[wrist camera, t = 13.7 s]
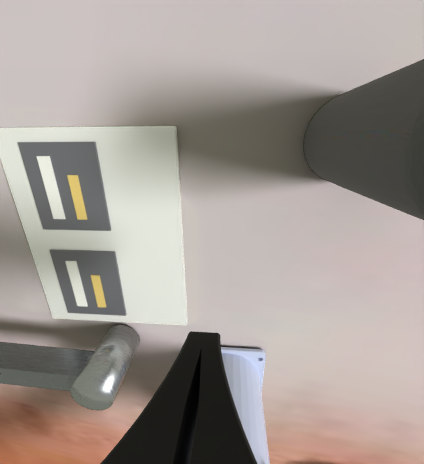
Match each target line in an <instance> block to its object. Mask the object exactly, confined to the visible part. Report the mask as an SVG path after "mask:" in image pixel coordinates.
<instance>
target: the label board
mask: <svg viewBox="0 0 424 464" xmlns="http://www.w3.org/2000/svg"><path fill="white" fill-rule="evenodd" d="M0 159H1V162H2V165H3V168H4V171H5V174H6V177H7V180H8V183H9V186H10V189H11V192H12V195H13V198H14V201H15V204H16V207H17V210H18V213H19V217H20V220H21V223H22V226H23V229H24V232H25V235H26V238H27V241H28V244H29V247H30V250H31V253H32V256H33V259H34V262H35V265H36V268H37V271H38V274H39V277H40V280H41V283H42V286H43V289H44V292H45V295H46V298H47V301H48V304H49V307H50V310H51V313H52V316H53V318H55V319H74V320H93V321H112V322H131V323H150V324H170V325H187V322H188V317H187V299H186V282H185V264H184V247H183V229H182V212H181V194H180V177H179V159H178V141H177V126H119V127H32V128H0Z"/></svg>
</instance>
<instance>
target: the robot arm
mask: <svg viewBox="0 0 424 464" xmlns="http://www.w3.org/2000/svg"><path fill="white" fill-rule="evenodd" d="M265 356H266V355H265V351H264V350H262V349H247V348H230V347H221V345H220V335H219V334H218V333H207V332H190V333H189V334H188V336H187V339H186V341H185V343H184V345H183V347H182V349H181V351H180V353H179V355H178V357H177V359H176V360H175V362H174V364H173V366H172V367H171V369H170V371H169V372H168V374H167V376H166V377H165V379H164V381H163V382H162V384H161V385H160V387H159V388H158V390H157V391H156V393H155V394H154V396H153V398H152V399H151V400H150V402H149V403H148V405H147V406H146V408H145V409H144V410H143V412H142V413H141V414H140V416H139V417H138V418H137V420H136V421H135V422H134V424H133V425H132V426H131V428H130V429H129V430H128V431H127V433H126V434H125V435H124V436H123V438H122V439H121V440H120V441H119V443H118V444H117V445H116V446H115V447H114V449H113V450H112V451H111V452H110V453H109V455H108V456H107V457H106V458H105V459H104V460H103V461H102V462H101V464H270V461H269V453H268V445H267V437H266V428H265V420H264V412H263V404H262V395H261V393H262V383H263V374H264V365H265ZM260 357H261V358H260Z"/></svg>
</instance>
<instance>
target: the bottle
mask: <svg viewBox="0 0 424 464" xmlns="http://www.w3.org/2000/svg"><path fill="white" fill-rule="evenodd" d="M303 149H304V155H305V159H306V161H307V163H308V166H309V167H310V168H311V170H312V171H313V172H314V173H315V174H317V175H318V176H319V177H321V178H323V179H325V180H327V181H329V182H332V183H334V184H336V185H339V186H341V187H343V188H346V189H348V190H351V191H353V192H356V193H358V194H361V195H363V196H365V197H368V198H370V199H373V200H375V201H378V202H380V203H383V204H385V205H387V206H390V207H392V208H395V209H397V210H400V211H402V212H405V213H407V214H410V215H412V216H415V217H417V218H420V219H422V220H424V59H423V60H421V61H418V62H416V63H414V64H411V65H409V66H407V67H404V68H402V69H400V70H397V71H395V72H392V73H390V74H388V75H385V76H383V77H381V78H378V79H376V80H374V81H371V82H369V83H367V84H364V85H362V86H360V87H357V88H355V89H353V90H350V91H348V92H346V93H344V94H342V95H339V96H337V97H335V98H333V99H332V100H330V101H329V102H327V103H326V104H325V105H324V106H322V107H321V108H320V109H319V110H318V111H317V113H316V114H315V115H314V116H313V118H312V119H311V121H310V123H309V125H308V127H307V130H306V133H305V136H304V144H303Z"/></svg>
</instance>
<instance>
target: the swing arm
mask: <svg viewBox="0 0 424 464" xmlns="http://www.w3.org/2000/svg"><path fill="white" fill-rule="evenodd" d="M139 343H140V338H139V335H138V334H137V332H136V331H135V330H133V329H132V328H130V327H128V326H124V325H115V326H113V327H111V328H110V329H109V330H108V331H107V333H106V334H105V336H104V338H103V339H102V341H101V342H100V344H99V345H98V347H97V348H96V350H95V351H85V350H76V349H66V348H56V347H46V346H36V345H27V344H17V343H7V342H0V383H2V384H11V385H20V386H29V387H38V388H47V389H56V390H65V391H70V392H71V396H72V398H73V399H74V400H75V401H76V402H77V403H78V404H80V405H81V406H83V407H85V408H88V409H91V410H105V409H107V408H109V407H110V406H111V405H112V404H113V401H114V399H115V397H116V395H117V393H118V390H119V388H120V386H121V384H122V381H123V379H124V377H125V375H126V373H127V370H128V368H129V366H130V364H131V361H132V359H133V357H134V355H135V353H136V350H137V348H138V346H139Z"/></svg>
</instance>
